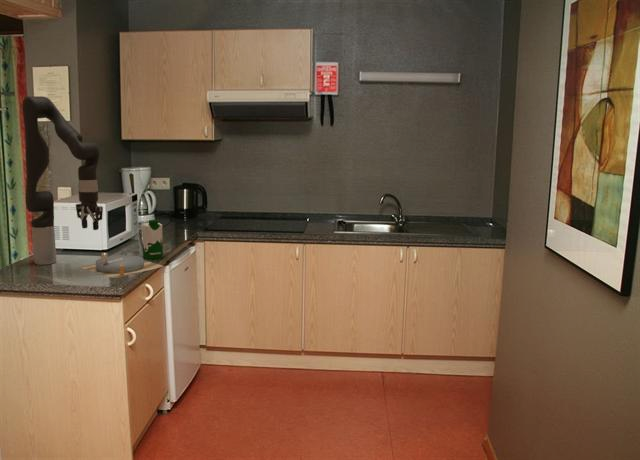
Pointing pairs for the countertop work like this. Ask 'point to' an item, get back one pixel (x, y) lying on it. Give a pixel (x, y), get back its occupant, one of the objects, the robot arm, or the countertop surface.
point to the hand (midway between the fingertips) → (90, 228)
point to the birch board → (146, 267)
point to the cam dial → (119, 263)
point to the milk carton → (152, 240)
